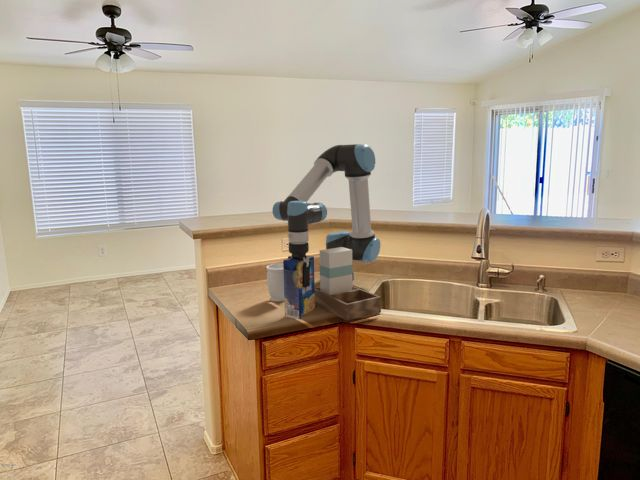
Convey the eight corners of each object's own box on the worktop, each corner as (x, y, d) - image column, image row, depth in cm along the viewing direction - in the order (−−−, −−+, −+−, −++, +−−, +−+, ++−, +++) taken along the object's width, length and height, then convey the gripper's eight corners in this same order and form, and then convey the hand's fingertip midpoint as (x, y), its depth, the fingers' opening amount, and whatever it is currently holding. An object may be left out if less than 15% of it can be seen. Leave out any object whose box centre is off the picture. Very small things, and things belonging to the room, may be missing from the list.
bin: (343, 297, 199) (343, 281, 197) (380, 314, 178) (381, 296, 176) (311, 304, 190) (311, 288, 189) (346, 323, 169) (346, 304, 168)
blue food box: (315, 310, 183) (314, 256, 179) (299, 319, 174) (298, 262, 170) (300, 308, 187) (299, 254, 182) (284, 316, 177) (283, 260, 173)
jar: (288, 305, 190) (287, 269, 188) (264, 303, 192) (262, 268, 190) (294, 297, 201) (294, 263, 198) (272, 296, 203) (270, 262, 200)
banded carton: (342, 298, 195) (342, 246, 190) (352, 302, 189) (352, 249, 185) (320, 303, 189) (319, 250, 185) (329, 307, 183) (329, 253, 179)
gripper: (279, 239, 180) (281, 297, 184) (300, 247, 166) (302, 309, 171) (296, 237, 184) (298, 294, 188) (318, 244, 170) (319, 305, 174)
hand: (300, 301), depth 179 cm, fingers open, 3 cm apart
